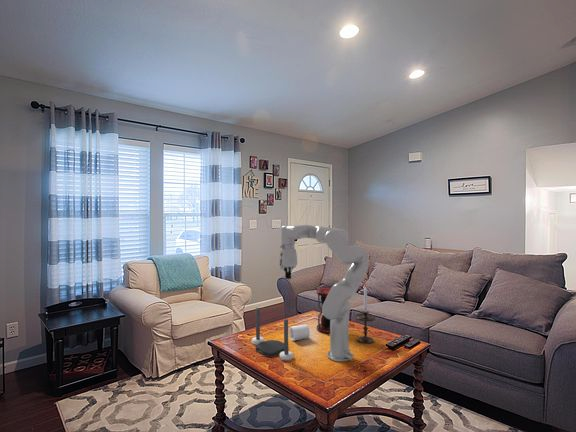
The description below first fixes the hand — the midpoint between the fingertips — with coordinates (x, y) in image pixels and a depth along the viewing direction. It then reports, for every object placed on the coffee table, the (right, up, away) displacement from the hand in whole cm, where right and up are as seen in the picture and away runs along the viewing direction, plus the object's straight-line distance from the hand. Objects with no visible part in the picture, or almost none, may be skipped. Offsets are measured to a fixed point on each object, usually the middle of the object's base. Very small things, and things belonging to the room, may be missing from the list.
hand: (288, 278), depth 196 cm
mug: (+6, -37, +7) cm, 38 cm away
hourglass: (+26, -37, +20) cm, 49 cm away
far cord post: (-18, -37, +1) cm, 41 cm away
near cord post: (-1, -38, -19) cm, 42 cm away
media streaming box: (-9, -38, -9) cm, 40 cm away
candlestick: (+45, -37, +2) cm, 58 cm away
